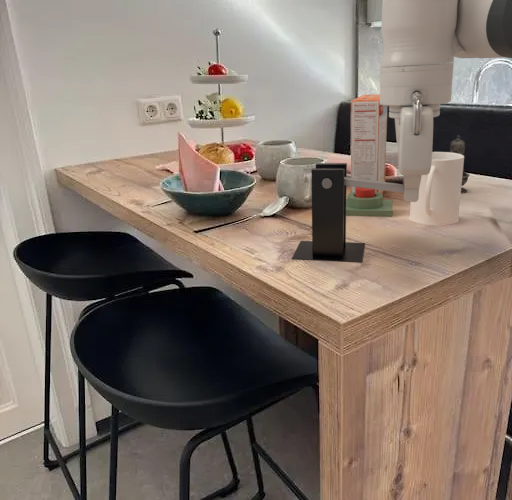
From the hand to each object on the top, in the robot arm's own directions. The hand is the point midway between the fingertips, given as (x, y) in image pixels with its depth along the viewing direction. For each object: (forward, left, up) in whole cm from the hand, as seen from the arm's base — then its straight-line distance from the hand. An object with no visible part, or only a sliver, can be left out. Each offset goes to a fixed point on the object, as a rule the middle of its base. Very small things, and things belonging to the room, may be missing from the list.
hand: (410, 194), depth 69 cm
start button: (+7, -23, -6) cm, 25 cm away
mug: (-4, -17, -10) cm, 20 cm away
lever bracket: (+11, 0, -10) cm, 15 cm away
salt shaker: (-11, -44, -10) cm, 46 cm away
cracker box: (+7, -36, -10) cm, 38 cm away
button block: (+7, -23, -10) cm, 26 cm away
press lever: (+6, 0, 0) cm, 6 cm away
